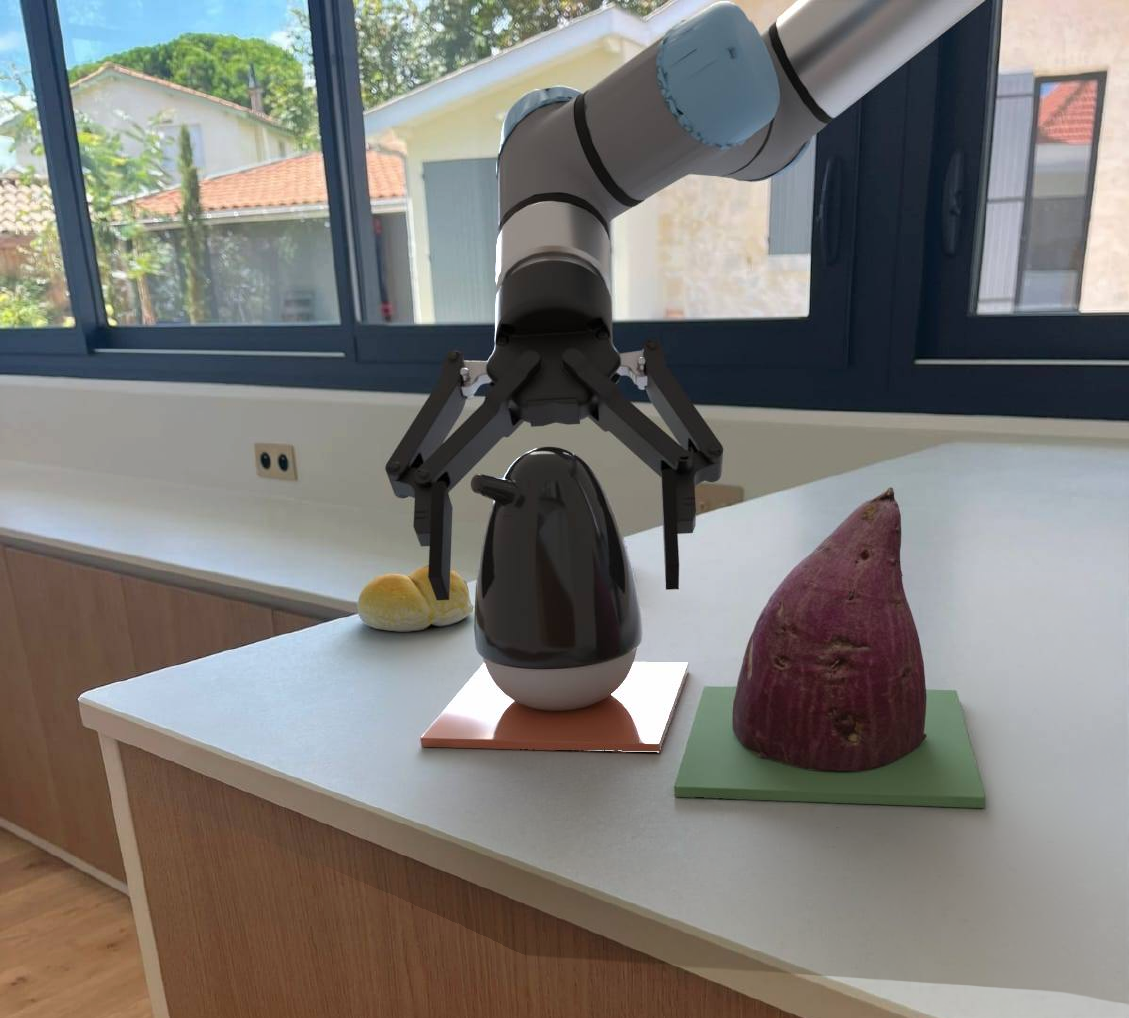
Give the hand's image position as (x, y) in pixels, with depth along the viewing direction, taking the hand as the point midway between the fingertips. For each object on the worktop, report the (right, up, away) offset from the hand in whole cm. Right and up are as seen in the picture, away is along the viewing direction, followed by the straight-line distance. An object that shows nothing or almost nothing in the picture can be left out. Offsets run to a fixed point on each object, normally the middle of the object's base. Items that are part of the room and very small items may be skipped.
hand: (554, 584), depth 67 cm
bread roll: (-11, +1, +26) cm, 28 cm away
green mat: (+15, -9, -3) cm, 18 cm away
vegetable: (+15, -9, -3) cm, 18 cm away
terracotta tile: (0, -7, +5) cm, 8 cm away
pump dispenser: (0, -7, +5) cm, 8 cm away
